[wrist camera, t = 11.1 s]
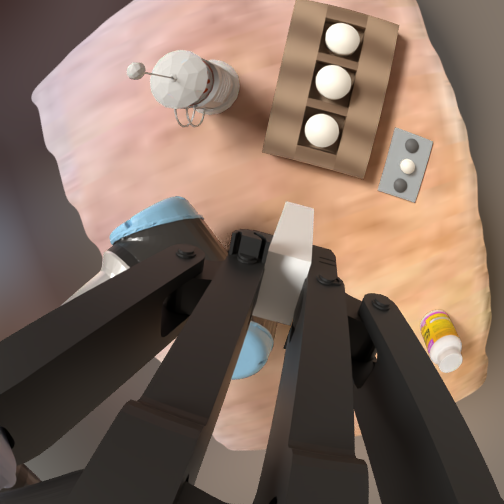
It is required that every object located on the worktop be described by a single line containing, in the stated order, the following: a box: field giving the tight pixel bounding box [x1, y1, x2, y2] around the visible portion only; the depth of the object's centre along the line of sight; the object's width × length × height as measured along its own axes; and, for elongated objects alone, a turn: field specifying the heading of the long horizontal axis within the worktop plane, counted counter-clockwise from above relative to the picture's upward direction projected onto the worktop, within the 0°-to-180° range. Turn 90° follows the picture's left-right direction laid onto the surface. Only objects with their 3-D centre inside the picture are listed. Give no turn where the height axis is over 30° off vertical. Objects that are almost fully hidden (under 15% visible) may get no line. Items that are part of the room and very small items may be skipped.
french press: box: [127, 50, 240, 127], centre depth 37 cm, size 10×12×25 cm
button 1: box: [305, 114, 339, 147], centre depth 45 cm, size 5×5×3 cm
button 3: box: [325, 23, 360, 57], centre depth 39 cm, size 5×5×3 cm
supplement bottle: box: [420, 310, 462, 373], centre depth 51 cm, size 7×7×13 cm
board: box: [262, 0, 399, 179], centre depth 43 cm, size 26×16×4 cm, turn 169°
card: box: [378, 127, 433, 203], centre depth 46 cm, size 11×7×2 cm, turn 169°
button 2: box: [316, 65, 351, 100], centre depth 40 cm, size 5×5×3 cm
